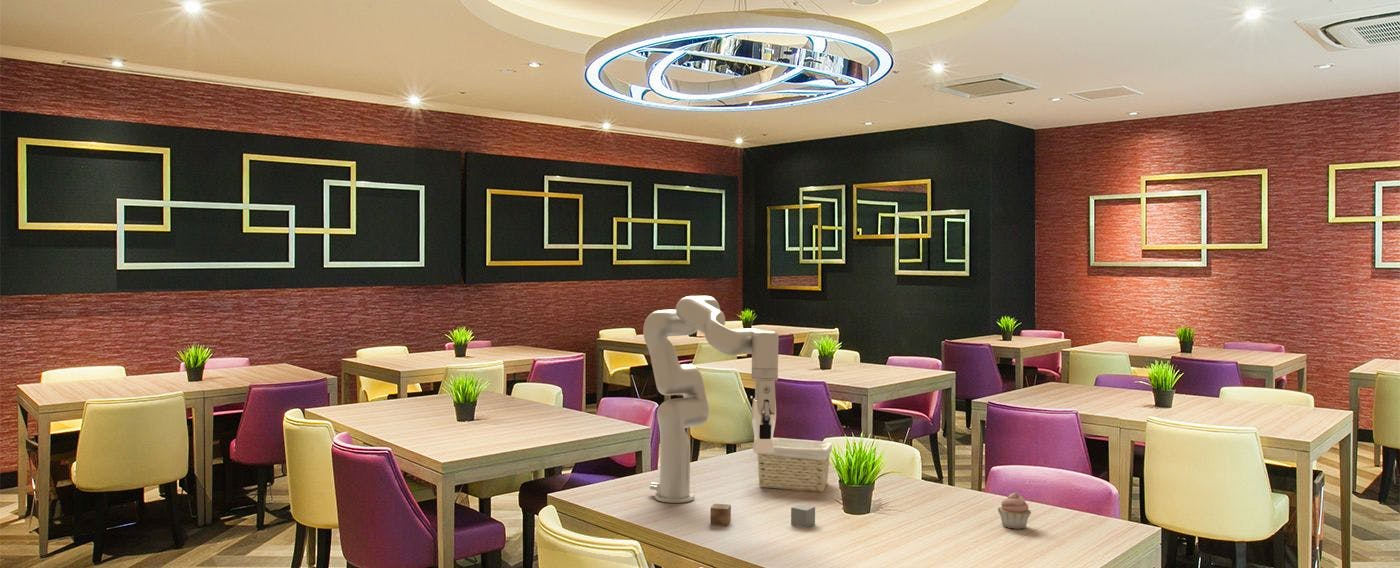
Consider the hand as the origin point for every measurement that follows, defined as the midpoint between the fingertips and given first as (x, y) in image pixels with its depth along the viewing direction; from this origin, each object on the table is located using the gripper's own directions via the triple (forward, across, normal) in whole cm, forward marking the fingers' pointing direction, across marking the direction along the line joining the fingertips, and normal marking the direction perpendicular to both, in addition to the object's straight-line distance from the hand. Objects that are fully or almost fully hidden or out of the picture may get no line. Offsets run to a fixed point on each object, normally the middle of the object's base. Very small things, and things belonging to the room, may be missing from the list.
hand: (763, 435), depth 262 cm
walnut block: (+26, +1, +12) cm, 28 cm away
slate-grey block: (+26, 0, -12) cm, 28 cm away
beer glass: (+5, 0, 0) cm, 5 cm away
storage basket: (+26, +46, -16) cm, 56 cm away
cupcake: (+25, -3, -73) cm, 77 cm away
